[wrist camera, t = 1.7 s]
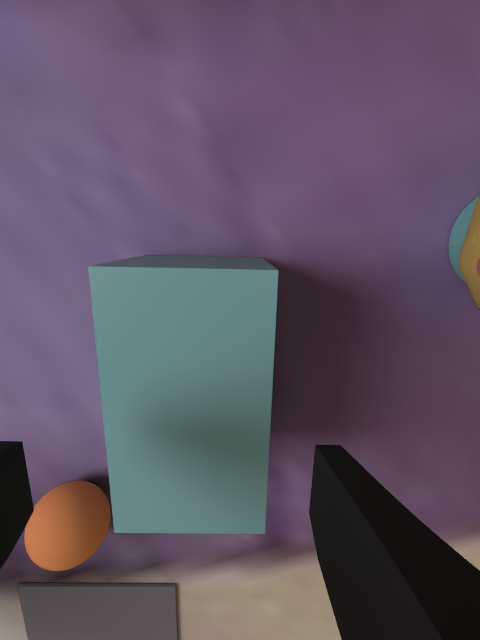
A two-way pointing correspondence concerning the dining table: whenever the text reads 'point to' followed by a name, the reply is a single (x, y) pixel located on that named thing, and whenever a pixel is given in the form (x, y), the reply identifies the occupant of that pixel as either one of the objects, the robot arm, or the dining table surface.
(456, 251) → the cupcake
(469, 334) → the dining table surface
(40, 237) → the dining table surface
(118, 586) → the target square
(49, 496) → the ball
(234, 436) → the teal rectangular box
